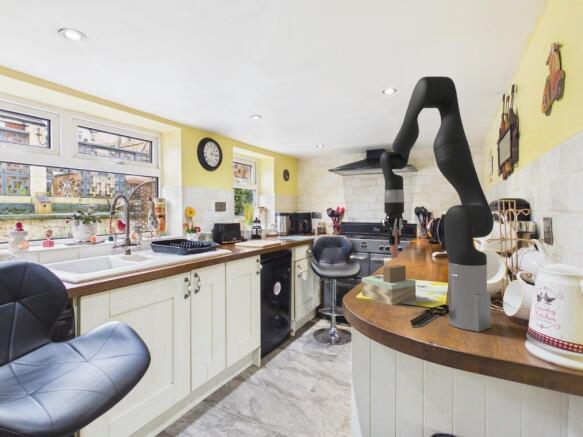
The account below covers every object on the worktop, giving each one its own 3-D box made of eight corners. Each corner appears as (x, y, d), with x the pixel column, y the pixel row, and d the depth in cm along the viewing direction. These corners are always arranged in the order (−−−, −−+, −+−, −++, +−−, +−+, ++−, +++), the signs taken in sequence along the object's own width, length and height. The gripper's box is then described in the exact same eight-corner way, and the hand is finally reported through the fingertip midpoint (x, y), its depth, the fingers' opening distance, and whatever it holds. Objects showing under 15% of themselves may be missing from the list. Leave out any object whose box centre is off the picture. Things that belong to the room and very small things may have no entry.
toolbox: (415, 301, 109) (415, 284, 108) (392, 307, 102) (391, 289, 102) (384, 293, 120) (384, 277, 120) (361, 298, 114) (361, 281, 114)
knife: (416, 331, 84) (416, 326, 84) (395, 324, 89) (395, 319, 89) (458, 311, 99) (458, 306, 99) (438, 306, 104) (438, 302, 104)
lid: (415, 284, 108) (415, 266, 108) (391, 289, 102) (391, 270, 102) (384, 277, 120) (384, 261, 120) (361, 281, 114) (361, 264, 114)
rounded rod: (398, 257, 124) (398, 227, 124) (395, 257, 123) (394, 227, 123) (393, 256, 126) (393, 227, 126) (390, 257, 125) (389, 227, 125)
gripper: (389, 201, 117) (389, 246, 118) (413, 201, 125) (413, 244, 125) (374, 201, 124) (375, 245, 124) (398, 202, 131) (398, 242, 131)
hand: (394, 244), depth 125 cm, fingers closed on rounded rod, 2 cm apart
